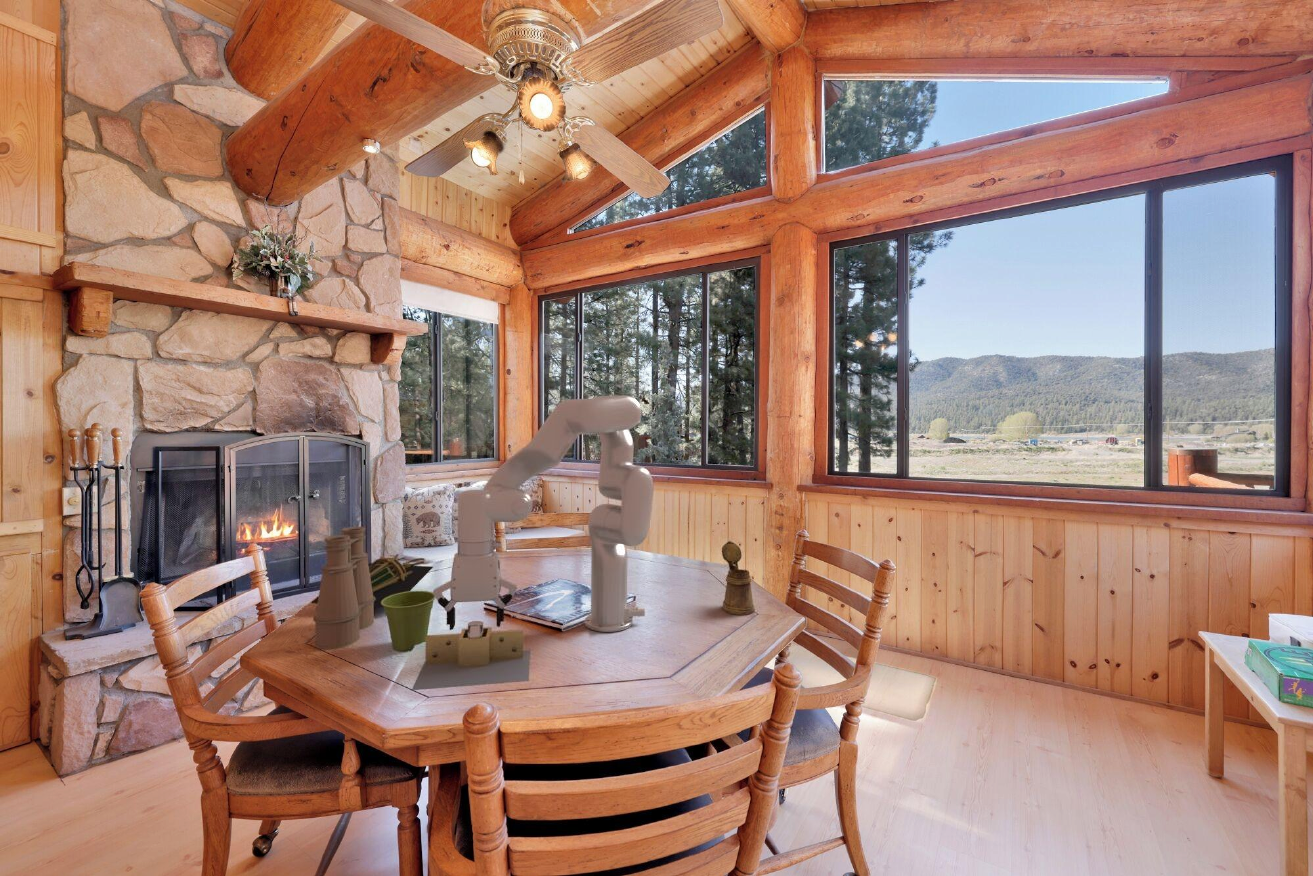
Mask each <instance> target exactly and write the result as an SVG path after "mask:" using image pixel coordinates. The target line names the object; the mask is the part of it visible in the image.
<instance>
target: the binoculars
mask: <svg viewBox="0 0 1313 876" xmlns="http://www.w3.org/2000/svg"><path fill="white" fill-rule="evenodd" d="M341 531H342V533H343V534H338V535H329V536H326V537H324V542H325V543H326V545H325V546H324V547H323V549H324V551H326V564H325V565H323V566H322V567H321V570H320V571H321V579H320V585H319V592H318V596H319V598H318V603H317V605H316V612H315V615H314V616H313V619H312V621H314V623H315V641H314V645H315V648H318V649H322V650H332V649H333V650H334V649H335V650H336V649H339V648H343V647H344V648H345V647H348V646H351V645H353V644H355V643H357V642H358V641H359V640H360V630H365V629H367V628H369V627H372V626H373V624H375V622H374V621H375V618H374V613H375V612H374V611H375V610H374V607H375V606H374V601H375V599H376V598H375V597H374V596H373V591H372V585H371V579H370V572H369V566H368V563H369V561H368V557H369V554H368V553H367V552H364V540H366V537H367V535H365V534H364V532H365V531H366V527H365V526H350V527H349V526H348V527H343V528H342V529H341Z"/></svg>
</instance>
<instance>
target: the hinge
mask: <svg viewBox="0 0 1313 876" xmlns="http://www.w3.org/2000/svg"><path fill="white" fill-rule="evenodd" d="M492 627H493V626H487V627H486V626H485V627H484V626H483V637H473V638H467V634H468V627H467V628H462V629H461V631H460V633H446V634H444V633H443V634H427V635H426V642H425V661H426V665H430V664H444V663H458V668H463V667H477V666H489V663H490V660H500V659H514V658H523V651H524V629H511V630H495V631H493V630H492Z"/></svg>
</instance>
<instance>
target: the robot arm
mask: <svg viewBox="0 0 1313 876" xmlns="http://www.w3.org/2000/svg"><path fill="white" fill-rule="evenodd" d="M642 414H643V412H642V406H641V404H640V402H639V401H638V399H636V398H635V397H634V396H630V395H628V394H627V395H625V394H623V395H600V396H599V395H598V396H595V397H592V398H579V399H578V398H573V399H565V400H562V401H560V402H559V403H558V404H557V405H556V406H555V407H554V409H553V410H552V411H551V413H550V414H549V415H548V416H547V419H545V420H544V422H543V423H542V425H541V427H540V428H539V429H538V431H537V432H536V433H535V434H534V436H533V437H532V439H531V440H530V441H528V443H527V444H526V445H525V446H523V447H522V448H521V449H520V450H518V451H517V452H516V453H514V454H513V455H512V456H511V457H509V458H508V459H507V460H506V461H504V462H503V463H502V464H501V465H499V467H498V469H496V470H495V472H494V473H493V474H492V476H491V477H490V478H489V480H488V481H487V482H486V484H485V485H484V486H483V489H470V490H463V491H462V492H460V493H459V495H458V496H457V552H456V553H455V554H454V556H453V559H452V560H453V561H452V565H451V566H452V567H451V577H450V580H449V581H447V582H445V583H444V584H442V585H440V586H438V587H436V588H434V589H433V591H432V592H433V594H434V596H435V600H436V601H437V604H438V605H440V606H441V607H442V608H443V609H444V611H445V612H446V625H449V631H451V630H454V629H455V625H456V607H455V605H456V604H457V603H468V602H469V603H472V602H489V601H493V602H494V604H496V605H497V607H496V627H497V628H500V627H501V622H504V621H505V607H506V605H508V604H509V603H510V602H511V600H512V599H513V597H514V595H515V593H516V592H517V590H518V585H517V584H516V583H512V582H510V581H508V580H506V579H504V578H502V577H501V563H500V557H499V552H498V551H496V549H497V550H498V549H501V548H502V541H498V540H496V539H495V523H517V522H518V523H519V522H521V521H523V520H525V519H527V517H529V516H530V514H531V512H532V510H533V505H534V504H533V500H532V497H531V495H530V494H529V493H527V492H526V491H525V490H523V489H521V487H522V486H523V485H524V484H525V483H526V482H527V481H529V480H530V479H531V478H532V477H535V476H537V475H539V474H541V473H544V472H547V471H549V470H552V469H553V468H555V467H557V466H558V465H559V464H560V463H561V461H562V460H563V459H564V457H565V456H566V454H567V452H569V450H570V449H571V446H572V445H573V444H574V442H575V441H576V440H577V438H578V437H579V436H580V435H588V436H589V435H599V438H600V442H601V453H600V455H601V456H600V463H599V471H598V472H599V473H598V480H597V481H598V482H597V488H598V491H599V493H600V494H601V495H602V496H603V497H604V498H607V499H611V500H615V501H621V505H618V504H612V503H602V504H599V505H597V506H595V507H594V508H593V509H592V510H591V512H590V513H589V517H588V520H587V527H588V528H587V529H588V535H589V541H590V550H591V551H590V552H591V554H590V555H591V558H590V560H591V563H590V564H591V567H590V568H591V570H590V571H591V573H590V578H591V579H590V582H591V583H590V584H591V585H590V614H589V615H587V616H586V617H585V618H584V626H585V627H586V628H587V629H590V630H593V631H596V632H602V633H614V632H620V631H623V630H626V629H628V628H630V627H631V626H632V625H633V621H634V620H633V618H634V617H639V618H641V617H645V616H646V615H645V614H646V611H645V608H639V607H638V606H633V607H630V606H629V604H628V551H627V548H626V546H627V547H637V546H640V545H641V544H643V543H644V541H645V540H646V538H647V537H648V534H649V530H650V527H651V526H650V524H651V520H652V518H651V517H652V511H653V510H652V509H653V501H654V499H653V498H654V490H655V489H654V488H655V487H654V481H653V480H654V479H653V477H652V474H651V472H650V471H649V470H648V469H646V468H645V467H644V466H641V465H637V464H634V446H635V443H634V440H633V436H632V433H631V431H630V430H631V429H633V428H634V427H636V425H638V423H639V422H640V421H641V418H642ZM501 587H503V588H505V589H506V590H508V593H507V594H506V595H505V596H504V597H503V596H502V595H501V594H500V592H501V590H502V588H501ZM449 589H450V593H449V594H450V600H449V599H447V598H446V597H445V596H444V595H443V593H444V592H446V591H447V590H449Z"/></svg>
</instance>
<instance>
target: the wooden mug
mask: <svg viewBox="0 0 1313 876" xmlns="http://www.w3.org/2000/svg"><path fill="white" fill-rule="evenodd" d="M721 553H722V559H723V560H724V561H726V562H727V563H728V568H729V570H728V572H727V574H726V576H725V577H726V578H725V582H726V586H725V593H724V600H722V609H723V611H724V612H726V613H728V614H731V615H732V614H733V615H738V616H744V615H746V616H747V615H750V614H752V613H754V612H755V604H754V603H753V602H754V601H753V594H752V593H753V592H752V586H751V585H752V583H751V582H752V577H751V575H750V571H749V570H748V569H740V568H739V565H738V564H739V562H740V560H741V559H742V557H743V556H742V550H741V548H740V547H739V546H738V545H737V544H736V543H735V542H733V541H731V540H729V541H727V542H726V543H725V544H724V545H723V546H722V548H721Z"/></svg>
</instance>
